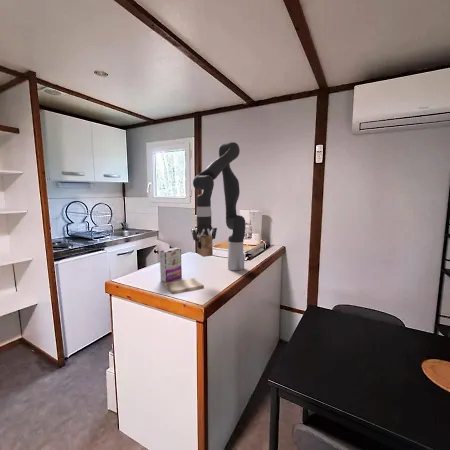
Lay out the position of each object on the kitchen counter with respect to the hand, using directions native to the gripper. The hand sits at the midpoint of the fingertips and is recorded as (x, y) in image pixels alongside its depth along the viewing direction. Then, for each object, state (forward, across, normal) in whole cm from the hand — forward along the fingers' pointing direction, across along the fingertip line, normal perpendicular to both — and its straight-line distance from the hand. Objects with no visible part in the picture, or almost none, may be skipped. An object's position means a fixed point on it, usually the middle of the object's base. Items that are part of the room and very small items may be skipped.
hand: (204, 247), depth 132 cm
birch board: (+18, +13, +2) cm, 22 cm away
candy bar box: (+18, +14, -12) cm, 26 cm away
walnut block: (+3, 0, 0) cm, 3 cm away
